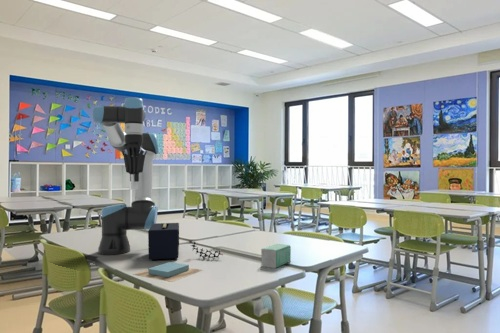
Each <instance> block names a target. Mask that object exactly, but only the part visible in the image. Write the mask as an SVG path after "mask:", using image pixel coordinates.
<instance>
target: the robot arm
mask: <svg viewBox="0 0 500 333" xmlns="http://www.w3.org/2000/svg"><path fill="white" fill-rule="evenodd" d="M143 101H144V100H143V98H139V97H134V96H133V97H127V98H125V99H124V105H116V106H115V105H95V106H94V107H93V109H92V119H93V121H94V123H98V124H102V127H103V128H104V130H105V133H106V134H107V136H108V139H107V140H108V142H109V144H110V145H111V147H112V148H113V149H115V150H116V151H118V152H120V153H121V154H122V156H123V161H124V166H125V172H126V173H128V174H129V181H130V190H132V191H133V190H134V200H133V201H132V202H131V205H130V206H128V205H127V204H126V203H119V204H113V205H109V206H105V207H103V208H102V209H101V216H100V218H101V239H100V241H99V244H98V245H99V246H98V249H97V253H98V254H99V255H107V256H108V255H110V256H112V255H121V254H125V253H126V254H127V253H129V252H131V245H130V241H129V238H128V236H127V231H133V230H134V231H136V230H137V231H139V230H142V231H143V230H145V231H146V230H149V229H150V227H151V226H152V224H156V223H157V220H158V205H156V202H154V201H153V169H154V168H153V166H154V165H153V164H154V161H153V160H154V159H155V158H156V156H157V155H159V145H158V138H157V134H156V133H155V132H144V122H145V119H146V112H145V110H144V103H143ZM122 124H124V129H123V127H122Z"/></svg>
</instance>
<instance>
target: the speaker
mask: <svg viewBox="0 0 500 333" xmlns="http://www.w3.org/2000/svg"><path fill="white" fill-rule="evenodd" d="M147 233H148V234H147V236H148V241H147V242H148V250H147V251H148V252H147V253H148V260H151V261H157V260H165V259H166V260H168V259H170V260H172V261H173V260H176V259H178V258H179V252H180V222H162V223H161V222H160V223H158V222H156V224H152V226H151V227H150V229H148V232H147Z"/></svg>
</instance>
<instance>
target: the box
mask: <svg viewBox="0 0 500 333" xmlns="http://www.w3.org/2000/svg"><path fill="white" fill-rule="evenodd" d="M291 250H292V249H291V245H289V244H281V243H277V244H276V243H275V244H272V245H269V246H266V247H263V248H261V257H260V258H261V265H260V266H261V267H266V268H270V269H271V268H273V269H277V268H279V267H281V266H283V265H286V264H288V263H290V262H291V259H292V258H291V256H292V255H291ZM289 261H290V262H289ZM287 262H288V263H287Z"/></svg>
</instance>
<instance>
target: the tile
mask: <svg viewBox="0 0 500 333" xmlns="http://www.w3.org/2000/svg"><path fill="white" fill-rule="evenodd" d="M189 268H190V266H189V264H185V263H179V262H171V261H169V262H166V263H165V262H164V263H162V264H159V265H156V266H152V267H150V268H149V267H148V268H147V270H148V274H152V275H157V276H163V277H170V276H173V275H176V274H179V273H182V272H184V271H187V270H189Z"/></svg>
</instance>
